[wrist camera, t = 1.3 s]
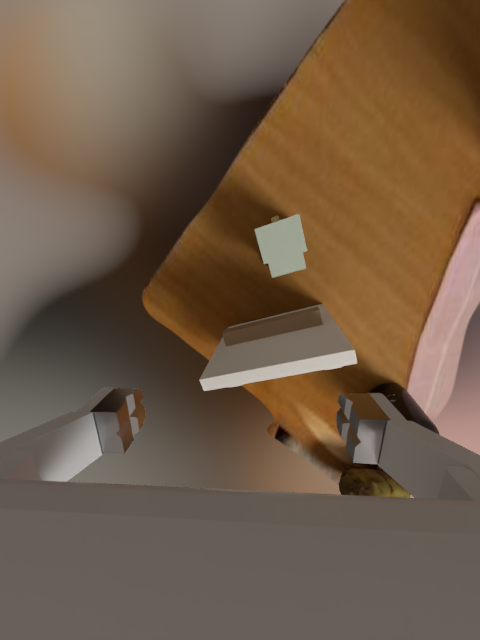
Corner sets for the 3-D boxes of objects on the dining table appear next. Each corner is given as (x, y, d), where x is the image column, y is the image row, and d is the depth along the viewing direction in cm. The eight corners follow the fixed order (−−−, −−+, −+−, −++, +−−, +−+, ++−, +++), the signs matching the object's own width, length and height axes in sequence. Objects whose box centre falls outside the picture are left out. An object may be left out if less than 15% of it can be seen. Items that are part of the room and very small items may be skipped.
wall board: (319, 291, 35) (351, 330, 21) (329, 334, 38) (363, 398, 23) (224, 316, 39) (192, 364, 24) (237, 354, 41) (215, 419, 26)
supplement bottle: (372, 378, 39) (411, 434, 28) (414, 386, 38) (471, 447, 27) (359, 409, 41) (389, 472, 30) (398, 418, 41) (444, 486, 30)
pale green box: (292, 214, 32) (297, 205, 24) (302, 259, 34) (310, 266, 26) (258, 225, 34) (252, 221, 25) (270, 269, 36) (267, 279, 27)
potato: (375, 495, 48) (394, 543, 40) (326, 464, 47) (335, 506, 39) (407, 474, 45) (433, 522, 37) (355, 440, 44) (371, 481, 36)
